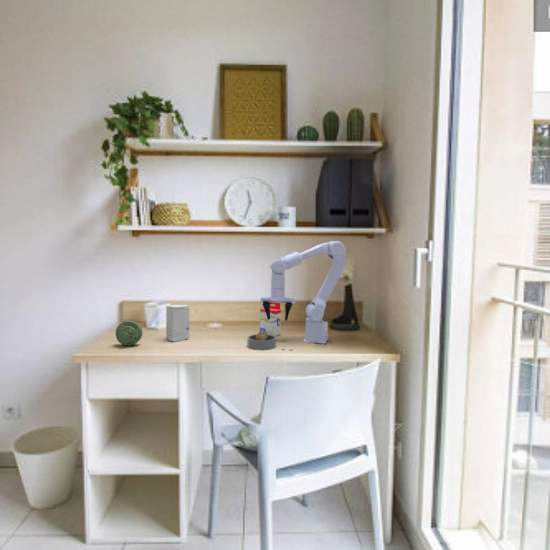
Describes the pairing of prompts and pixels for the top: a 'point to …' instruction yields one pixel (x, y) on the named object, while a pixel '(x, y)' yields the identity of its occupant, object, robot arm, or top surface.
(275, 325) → the ink box
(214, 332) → the top surface
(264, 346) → the charcoal cup
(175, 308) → the skincare box
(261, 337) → the walnut peg in cup
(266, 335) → the loose walnut peg
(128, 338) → the decorative artifact
